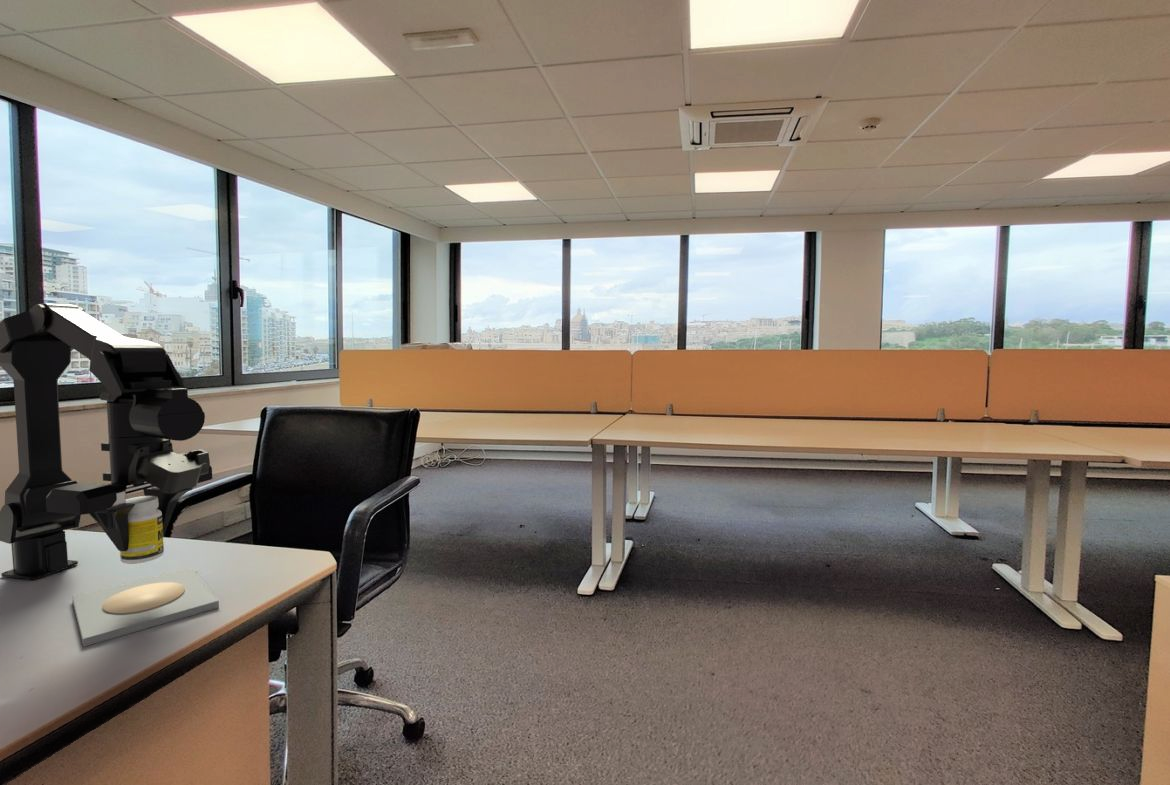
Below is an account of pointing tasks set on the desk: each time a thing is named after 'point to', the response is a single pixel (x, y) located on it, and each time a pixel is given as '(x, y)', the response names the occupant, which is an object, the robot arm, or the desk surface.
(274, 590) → the desk surface
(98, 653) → the desk surface
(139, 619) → the slate board
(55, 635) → the desk surface
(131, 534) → the supplement bottle
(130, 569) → the desk surface
